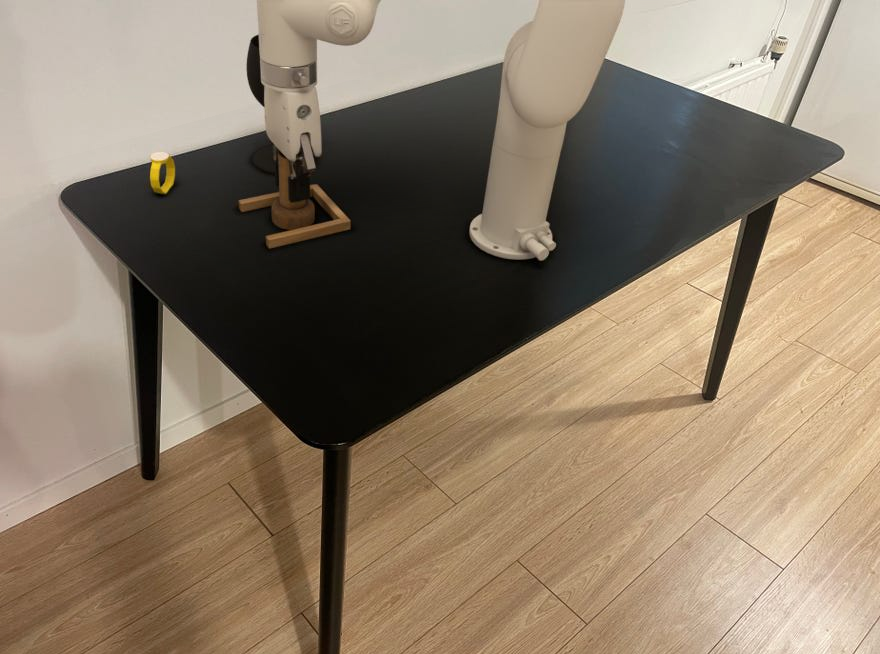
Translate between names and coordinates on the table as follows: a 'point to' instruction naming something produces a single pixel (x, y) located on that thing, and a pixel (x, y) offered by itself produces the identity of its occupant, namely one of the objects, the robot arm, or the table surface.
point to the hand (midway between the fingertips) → (292, 191)
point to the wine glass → (264, 156)
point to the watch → (156, 161)
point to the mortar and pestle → (283, 209)
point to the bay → (304, 233)
